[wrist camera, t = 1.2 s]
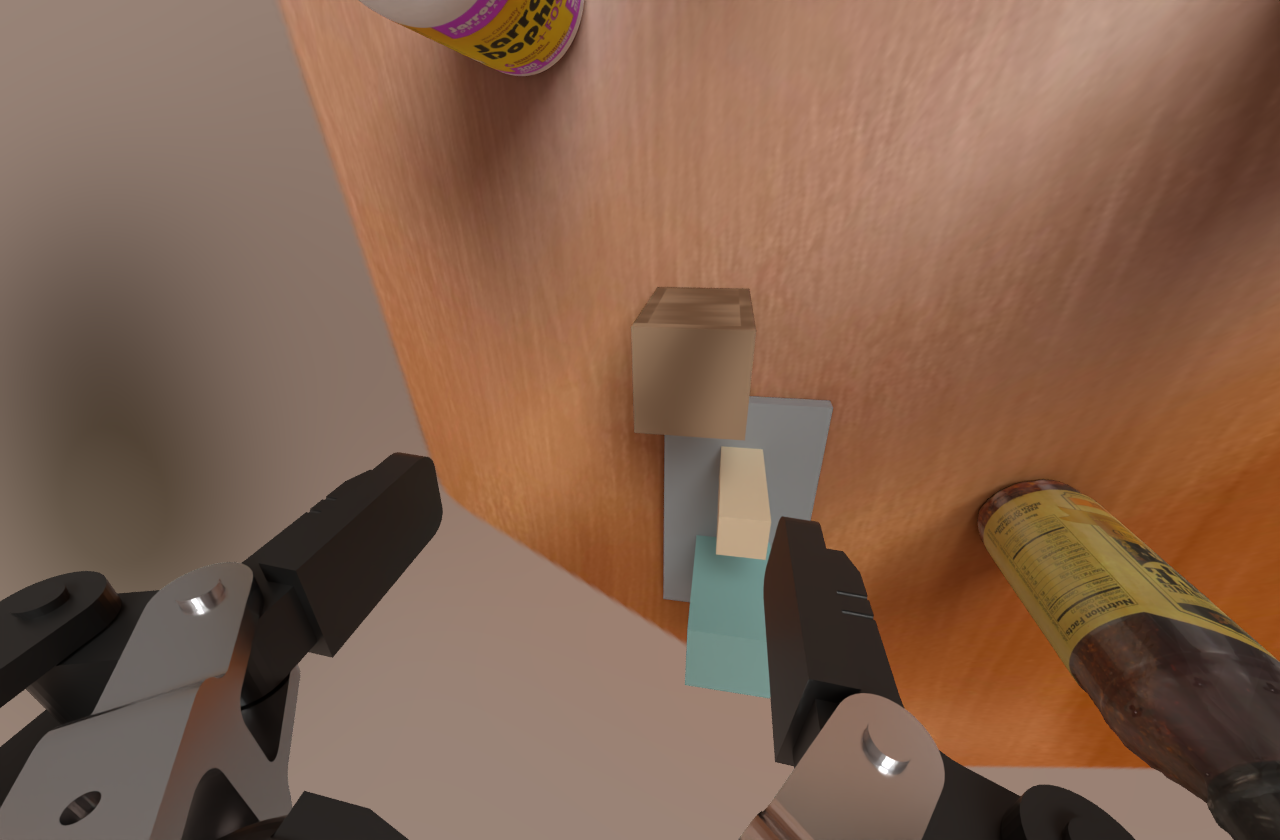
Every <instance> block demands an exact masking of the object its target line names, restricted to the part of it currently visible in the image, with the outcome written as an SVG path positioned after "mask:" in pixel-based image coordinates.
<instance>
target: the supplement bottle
mask: <svg viewBox="0 0 1280 840" xmlns="http://www.w3.org/2000/svg"><path fill="white" fill-rule="evenodd" d="M359 1H360V2H362V3H363V4H364V5H366V6H367V7H368V8H370V9H371V10H373V11H375V12H377V13H378V14H380V15H382V16H384V17H386V18H387V19H389V20H391V21H393V22H395V23H398V24H400V25H402V26H404V27H406V28H408V29H411V30H413V31H415V32H417V33H419V34H421V35H423V36H425V37H427V38H430V39H432V40H434V41H436V42H438V43H440V44H442V45H444V46H446V47H448V48H450V49H453V50H455V51H457V52H459V53H461V54H463V55H465V56H467V57H470V58H471V59H473V60H476V61H478V62H480V63H482V64H484V65H486V66H488V67H490V68H493V69H495V70H497V71H500V72H502V73H505V74H509V75H514V76H529V75H535V74H538V73H541V72H543V71H545V70H547V69H549V68H550V67H551V66H553V65H554V64H555V63H556V62H558V61H559V60H560V58H561V57H562V56H563V55H564V54H565V53H566V51H567V50H568V48H569V47H570V45H571V43H572V41H573V40H574V37H575V35H576V33H577V30H578V28H579V25H580V21H581V17H582V13H583V6H584V0H359Z"/></svg>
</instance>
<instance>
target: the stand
mask: <svg viewBox="0 0 1280 840" xmlns="http://www.w3.org/2000/svg"><path fill="white" fill-rule="evenodd" d="M832 411H833V407H832V404H831V402H830V401H828V400H810V399H792V398H773V397H755V396H749V405H748V415H747V425H746V434H745V441H744V440H730V439H716V438H702V437H687V436H673V435H665V452H664V594H663V599H669V600H677V601H684V602H690V609H689V619H688V630H687V651H686V674H685V685H689V686H695V687H702V688H708V689H714V690H720V691H727V692H733V693H740V694H746V695H752V696H759V697H764V698H770V683H769V669H768V655H767V641H766V627H765V613H764V599H763V587H764V576H765V570H766V566H767V562H768V559H769V555H770V551H771V548H772V544H773V540H774V537H775V533H776V529H777V526H778V522H779V520H780V518H781V517H782V516H784V517H791V518H797V519H803V520H809V521H810V520H811V515H812V510H813V505H814V500H815V495H816V490H817V485H818V480H819V475H820V470H821V465H822V460H823V455H824V450H825V445H826V440H827V435H828V430H829V425H830V420H831V415H832Z"/></svg>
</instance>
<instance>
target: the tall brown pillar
mask: <svg viewBox="0 0 1280 840" xmlns="http://www.w3.org/2000/svg"><path fill="white" fill-rule="evenodd" d="M631 337H632V372H633V406H634V433H645V434H659V435H673V436H687V437H702V438H716V439H730V440H744V441H745V434H746V425H747V415H748V405H749V396H750V386H751V376H752V366H753V357H754V347H755V337H756V327H755V321H754V314H753V308H752V302H751V296H750V290H749V289H732V288H675V287H657V289H656V290H655V292H654V293H653V295H652V296H651V298H650V299H649V301H648V302H647V304H646V305H645V307H644V308H643V310H642V311H641V313H640V314H639V316H638V317H637V319H636V320H635V322H634V323H633V325H632V326H631Z"/></svg>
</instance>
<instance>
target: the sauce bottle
mask: <svg viewBox="0 0 1280 840" xmlns="http://www.w3.org/2000/svg"><path fill="white" fill-rule="evenodd" d="M977 521H978V529H979V533H980V537H981V540H982V542H983V543H984V544H985V547H986V549H987V551H988V552H989V554H990V555H991V557H992V559H993V560H994V562H995V563H996V565H997V566H998V568H999V569H1000V571H1001V572H1002V574H1003V575H1004V577H1005V578H1006V579H1007V581H1008V582H1009V584H1010V585H1011V587H1012V588H1013V590H1014V591H1015V593H1016V594H1017V596H1018V597H1019V599H1020V600H1021V601H1022V603H1023V604H1024V606H1025V607H1026V609H1027V610H1028V612H1029V613H1030V615H1031V616H1032V618H1033V619H1034V620H1035V622H1036V623H1037V625H1038V626H1039V628H1040V629H1041V631H1042V632H1043V634H1044V635H1045V637H1046V638H1047V640H1048V641H1049V642H1050V644H1051V645H1052V647H1053V648H1054V650H1055V651H1056V653H1057V654H1058V656H1059V657H1060V659H1061V660H1062V662H1063V663H1064V665H1065V666H1066V667H1067V669H1068V670H1069V672H1070V673H1071V675H1072V676H1073V678H1074V679H1075V681H1076V682H1077V683H1078V685H1079V686H1080V687H1081V688H1082V689H1083V690H1084V691H1085V692H1087V693H1088V694H1089V696H1090V698H1091V699H1092V700H1093V701H1094V704H1095V705H1096V706H1097V707H1098V709H1099V711H1100V712H1101V714H1102V716H1103V718H1104V720H1105V722H1106V723H1107V724H1108V725H1109V727H1110V728H1111V729H1112V730H1113V731H1114V732H1115V733H1116V734H1117V736H1118V737H1119V738H1120V740H1121V741H1122V742H1123V744H1124V746H1126V747H1127V748H1128V749H1129V750H1131V751H1132V752H1133V753H1134V754H1136V755H1137V756H1138V757H1140V758H1141V759H1142V760H1143V761H1145V762H1146V763H1147V764H1148V765H1149V766H1150V767H1151V768H1154V769H1156V770H1158V771H1160V772H1162V773H1163V774H1164V775H1165V776H1166V777H1167V778H1169V779H1170V780H1172V781H1174V782H1176V783H1178V784H1179V785H1181V786H1183V787H1184V788H1186V789H1187V790H1188V791H1190V792H1191V793H1193V794H1194V795H1196V796H1197V797H1199V798H1201V799H1202V800H1203V801H1204V802H1206V803H1207V805H1208V808H1209V810H1210V811H1211V813H1212V815H1213V817H1214V819H1215V821H1216V823H1218V825H1219V826H1220V827H1221V828H1222V829H1224V830H1225V831H1226V832H1228V833H1229V834H1230V835H1231V837H1232V838H1233V839H1234V840H1280V662H1279V661H1278V660H1277V659H1276V658H1275V657H1273V656H1272V655H1271V654H1270V653H1269V652H1268V651H1267V650H1266V649H1264V648H1263V647H1262V646H1261V645H1260V644H1259V643H1258V642H1257V641H1255V640H1254V639H1253V638H1252V637H1251V636H1250V635H1249V634H1247V633H1246V632H1245V631H1244V630H1243V629H1242V628H1241V627H1239V626H1238V625H1237V624H1236V623H1235V622H1234V621H1232V620H1231V619H1230V618H1229V617H1228V616H1227V615H1226V614H1224V613H1223V612H1222V611H1221V610H1220V609H1219V608H1217V607H1216V606H1215V605H1214V604H1213V603H1212V602H1211V601H1210V600H1209V599H1208V598H1207V597H1206V596H1205V595H1203V594H1202V593H1201V592H1200V591H1198V590H1197V589H1196V588H1195V587H1194V586H1193V585H1192V584H1190V583H1189V582H1188V581H1187V580H1186V579H1185V578H1183V577H1182V576H1181V575H1180V574H1179V573H1178V572H1176V571H1175V570H1174V569H1173V568H1172V567H1171V566H1170V565H1168V564H1167V563H1166V562H1165V561H1164V560H1163V559H1161V558H1160V557H1159V556H1158V555H1157V554H1156V553H1155V552H1154V551H1152V550H1151V549H1150V548H1149V547H1148V546H1147V545H1146V544H1145V543H1143V542H1142V541H1141V540H1140V539H1139V538H1138V537H1137V536H1135V535H1134V534H1133V533H1132V532H1131V531H1130V530H1128V529H1127V528H1126V527H1125V526H1124V525H1123V524H1122V523H1120V522H1119V521H1118V520H1117V519H1116V518H1115V517H1114V516H1112V515H1111V514H1110V513H1109V512H1108V511H1107V510H1105V509H1104V508H1103V507H1102V506H1101V505H1100V504H1099V503H1097V502H1096V501H1095V500H1093V499H1092V498H1090V497H1088V496H1086V495H1083V494H1082V493H1080V492H1079V491H1078V490H1076V489H1074V488H1072V487H1070V486H1069V485H1066V484H1064V483H1062V482H1057V481H1054V480H1044V479H1043V480H1037V481H1028V482H1020V483H1017V484H1015V485H1012V486H1009V487H1007V488H1005V489H1003V490H1001V491H999V492H997V493H996V494H995V495H994V496H993V497H992V498H989V499H988V500H987V502H986V503H985V504H984V505H983V506H982V507H981V509H980V510H979V516H978V520H977Z"/></svg>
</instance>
